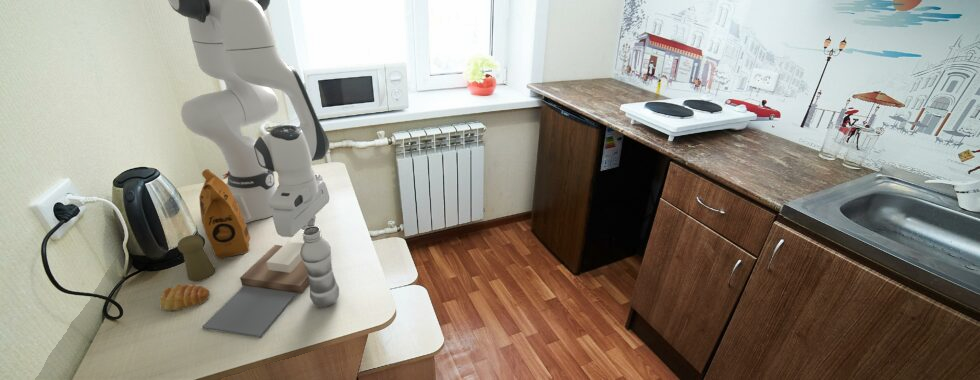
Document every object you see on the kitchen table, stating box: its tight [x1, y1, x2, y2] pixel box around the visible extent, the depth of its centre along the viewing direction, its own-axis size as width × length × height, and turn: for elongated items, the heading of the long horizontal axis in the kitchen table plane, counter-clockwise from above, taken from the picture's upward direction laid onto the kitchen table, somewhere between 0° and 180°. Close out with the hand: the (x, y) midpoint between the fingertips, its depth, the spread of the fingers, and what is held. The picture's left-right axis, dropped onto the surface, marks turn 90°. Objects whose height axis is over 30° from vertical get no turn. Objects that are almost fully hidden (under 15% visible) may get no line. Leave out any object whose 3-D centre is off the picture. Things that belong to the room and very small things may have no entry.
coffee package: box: [198, 168, 251, 260], centre depth 112 cm, size 10×12×22 cm
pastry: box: [159, 284, 211, 312], centre depth 97 cm, size 9×7×4 cm
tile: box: [267, 241, 304, 273], centre depth 107 cm, size 6×9×2 cm, turn 171°
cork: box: [177, 234, 217, 283], centre depth 104 cm, size 6×6×11 cm
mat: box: [201, 286, 298, 339], centre depth 95 cm, size 14×14×1 cm
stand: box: [239, 244, 310, 295], centre depth 107 cm, size 16×14×2 cm
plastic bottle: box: [300, 225, 340, 308], centre depth 94 cm, size 6×7×20 cm
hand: (309, 232), depth 115 cm, fingers closed
